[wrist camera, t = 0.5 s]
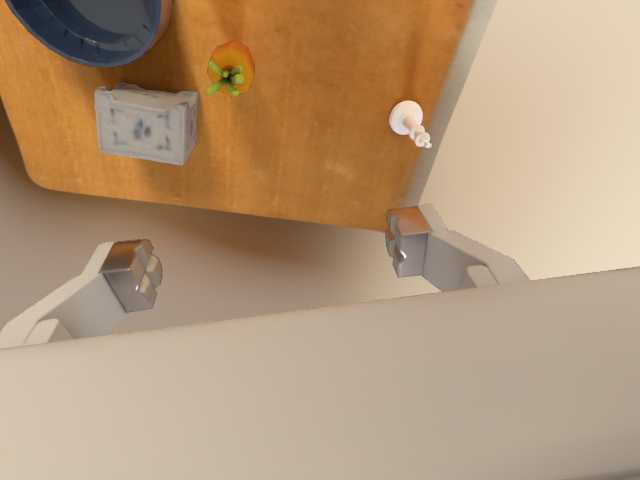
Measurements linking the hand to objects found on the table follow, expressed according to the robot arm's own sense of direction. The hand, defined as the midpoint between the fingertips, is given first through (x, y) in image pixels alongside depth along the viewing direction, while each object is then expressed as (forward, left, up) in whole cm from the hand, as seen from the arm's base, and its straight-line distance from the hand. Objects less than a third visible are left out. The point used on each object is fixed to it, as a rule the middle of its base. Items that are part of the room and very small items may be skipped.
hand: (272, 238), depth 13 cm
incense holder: (+11, -14, -42) cm, 46 cm away
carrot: (+3, -4, -42) cm, 43 cm away
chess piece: (+10, +20, -42) cm, 48 cm away
